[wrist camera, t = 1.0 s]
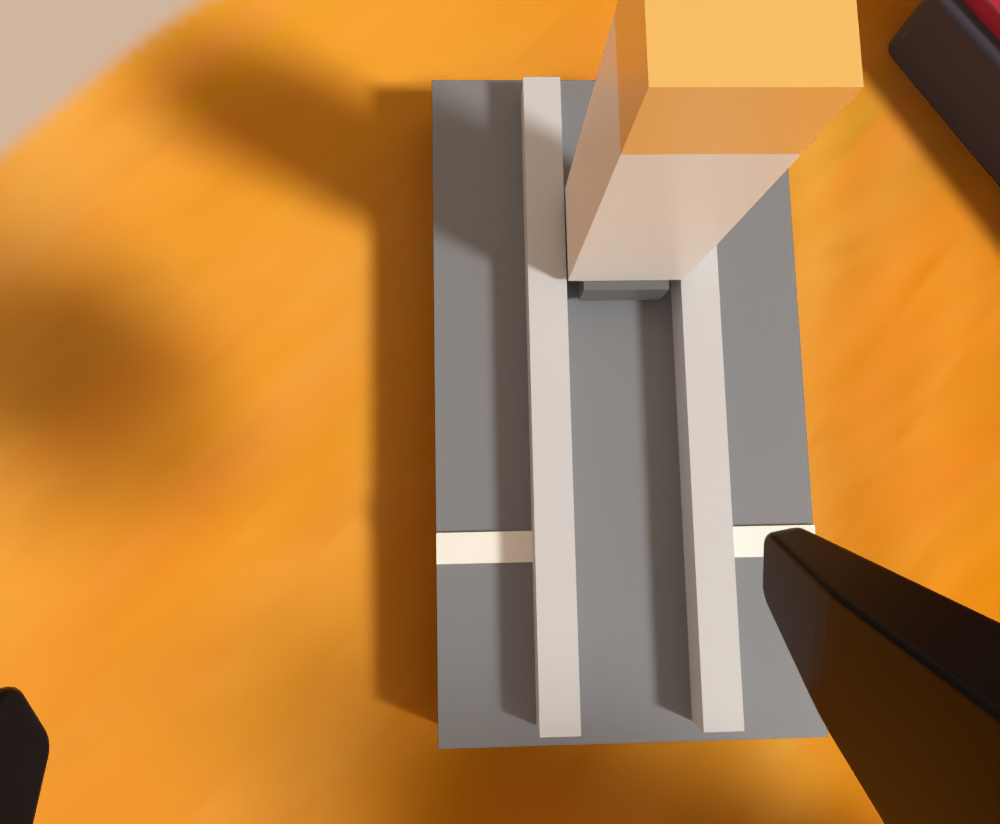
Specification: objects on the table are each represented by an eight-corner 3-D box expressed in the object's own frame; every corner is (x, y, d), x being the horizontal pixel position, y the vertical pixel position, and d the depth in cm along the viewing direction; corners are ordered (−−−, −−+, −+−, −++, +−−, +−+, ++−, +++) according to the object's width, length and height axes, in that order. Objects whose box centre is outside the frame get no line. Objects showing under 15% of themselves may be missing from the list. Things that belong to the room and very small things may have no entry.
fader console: (794, 714, 21) (846, 749, 18) (441, 725, 21) (436, 762, 18) (755, 116, 23) (796, 59, 20) (435, 116, 23) (429, 59, 20)
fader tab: (674, 299, 20) (865, 104, 10) (563, 300, 20) (649, 104, 10) (668, 193, 21) (848, -94, 11) (560, 194, 21) (639, -96, 11)
